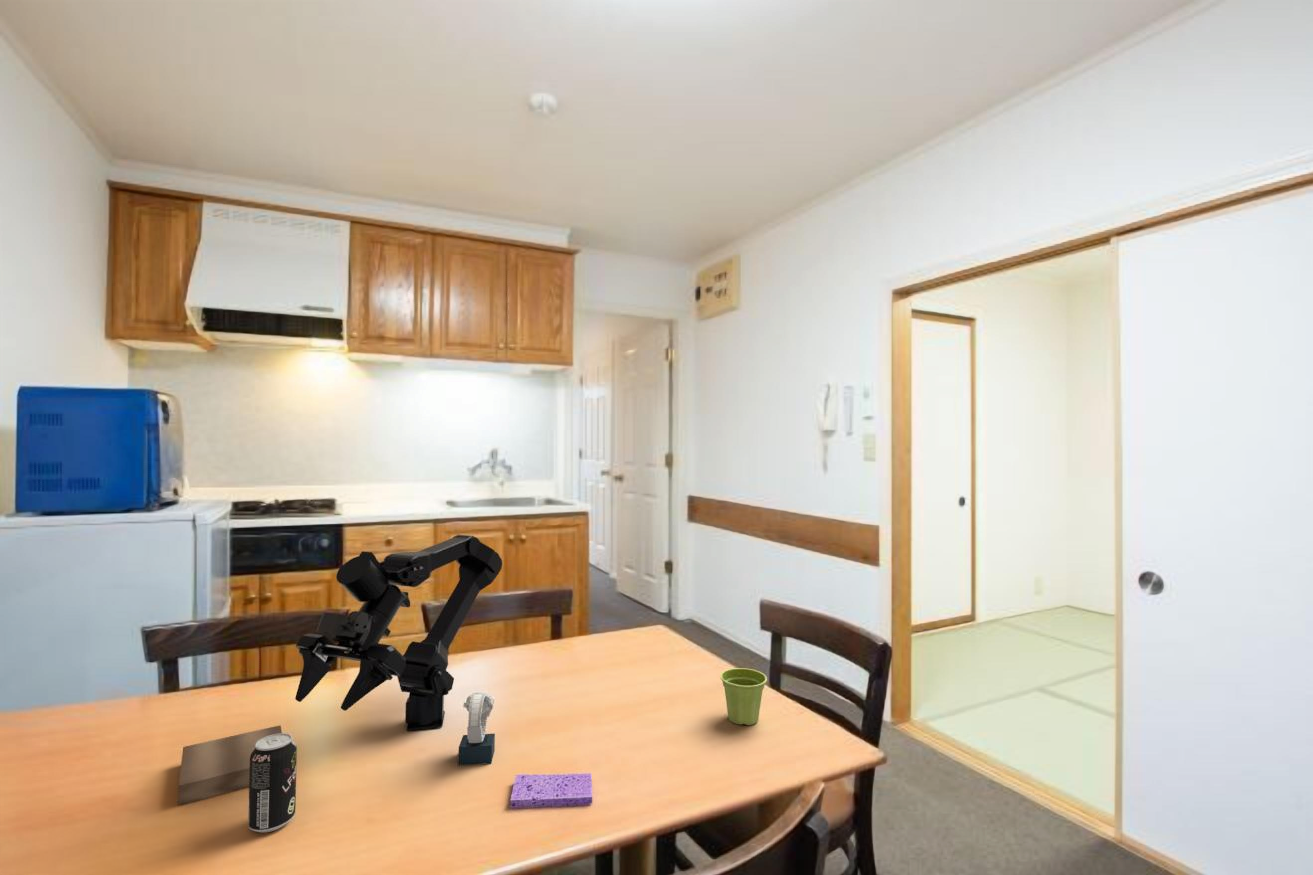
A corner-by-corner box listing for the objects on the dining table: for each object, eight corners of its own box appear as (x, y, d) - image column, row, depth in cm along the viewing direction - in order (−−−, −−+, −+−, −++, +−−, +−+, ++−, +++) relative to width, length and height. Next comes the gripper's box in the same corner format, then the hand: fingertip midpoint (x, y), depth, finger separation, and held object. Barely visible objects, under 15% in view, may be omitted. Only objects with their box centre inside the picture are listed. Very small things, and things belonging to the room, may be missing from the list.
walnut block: (280, 741, 109) (280, 725, 109) (286, 776, 98) (287, 758, 98) (182, 764, 101) (183, 746, 101) (178, 805, 90) (178, 785, 90)
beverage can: (289, 806, 90) (291, 726, 90) (299, 824, 86) (301, 740, 86) (244, 822, 86) (246, 739, 86) (252, 842, 82) (254, 754, 82)
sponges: (515, 785, 97) (515, 773, 97) (592, 782, 99) (592, 771, 99) (509, 812, 90) (509, 799, 90) (592, 808, 92) (592, 796, 92)
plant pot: (745, 734, 115) (746, 689, 115) (710, 717, 122) (711, 674, 122) (775, 720, 121) (776, 677, 121) (740, 704, 128) (741, 664, 128)
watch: (495, 745, 109) (497, 685, 109) (489, 768, 101) (491, 704, 101) (464, 746, 108) (465, 686, 109) (455, 770, 101) (457, 705, 101)
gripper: (306, 585, 102) (242, 673, 91) (395, 596, 96) (337, 690, 86) (342, 619, 110) (286, 704, 99) (427, 631, 104) (377, 722, 93)
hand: (319, 704), depth 94 cm, fingers open, 9 cm apart
